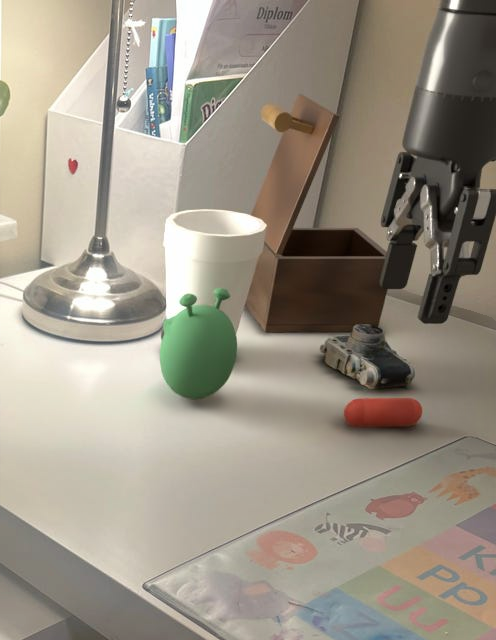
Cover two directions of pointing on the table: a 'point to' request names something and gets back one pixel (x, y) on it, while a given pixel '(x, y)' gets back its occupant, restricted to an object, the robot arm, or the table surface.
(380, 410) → the red pill shape
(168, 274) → the foam cup
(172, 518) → the table surface
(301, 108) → the bin lid
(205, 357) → the alien toy
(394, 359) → the camera
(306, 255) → the bin
